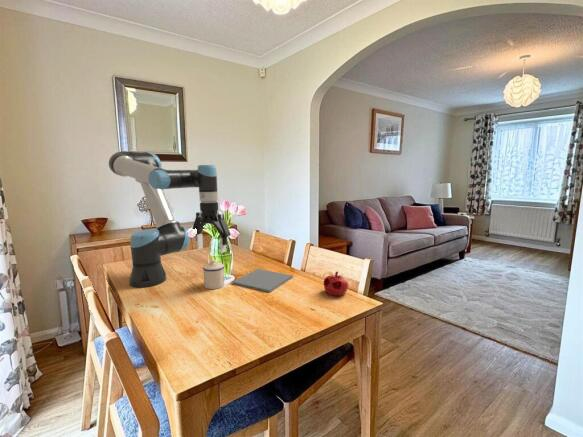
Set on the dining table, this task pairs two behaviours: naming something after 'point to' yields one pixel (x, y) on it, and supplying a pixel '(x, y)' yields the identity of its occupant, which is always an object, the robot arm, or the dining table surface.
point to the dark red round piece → (335, 285)
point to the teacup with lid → (213, 275)
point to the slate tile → (263, 280)
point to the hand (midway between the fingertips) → (211, 250)
